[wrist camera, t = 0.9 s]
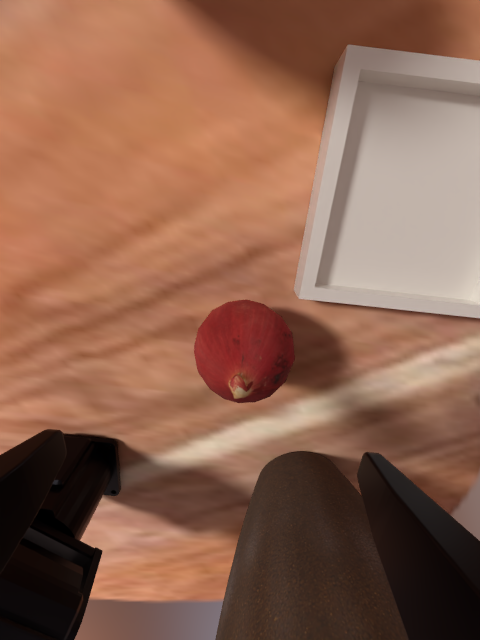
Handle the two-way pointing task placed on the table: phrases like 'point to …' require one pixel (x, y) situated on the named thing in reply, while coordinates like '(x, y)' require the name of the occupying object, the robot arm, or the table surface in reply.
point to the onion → (244, 351)
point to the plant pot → (307, 561)
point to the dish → (397, 186)
